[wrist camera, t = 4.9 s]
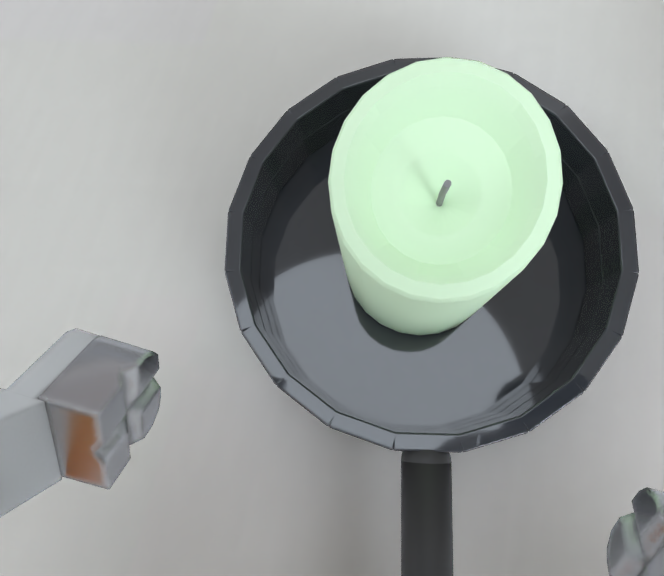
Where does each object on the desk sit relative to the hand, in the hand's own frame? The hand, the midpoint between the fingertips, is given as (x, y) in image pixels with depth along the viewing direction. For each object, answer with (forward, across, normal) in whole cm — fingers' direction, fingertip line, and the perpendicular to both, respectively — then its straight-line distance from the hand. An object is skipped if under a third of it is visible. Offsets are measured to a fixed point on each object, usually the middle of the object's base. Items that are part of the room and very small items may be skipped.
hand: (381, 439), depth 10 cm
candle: (+10, 0, +3) cm, 11 cm away
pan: (+11, 0, +3) cm, 11 cm away
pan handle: (+3, -2, +8) cm, 9 cm away
